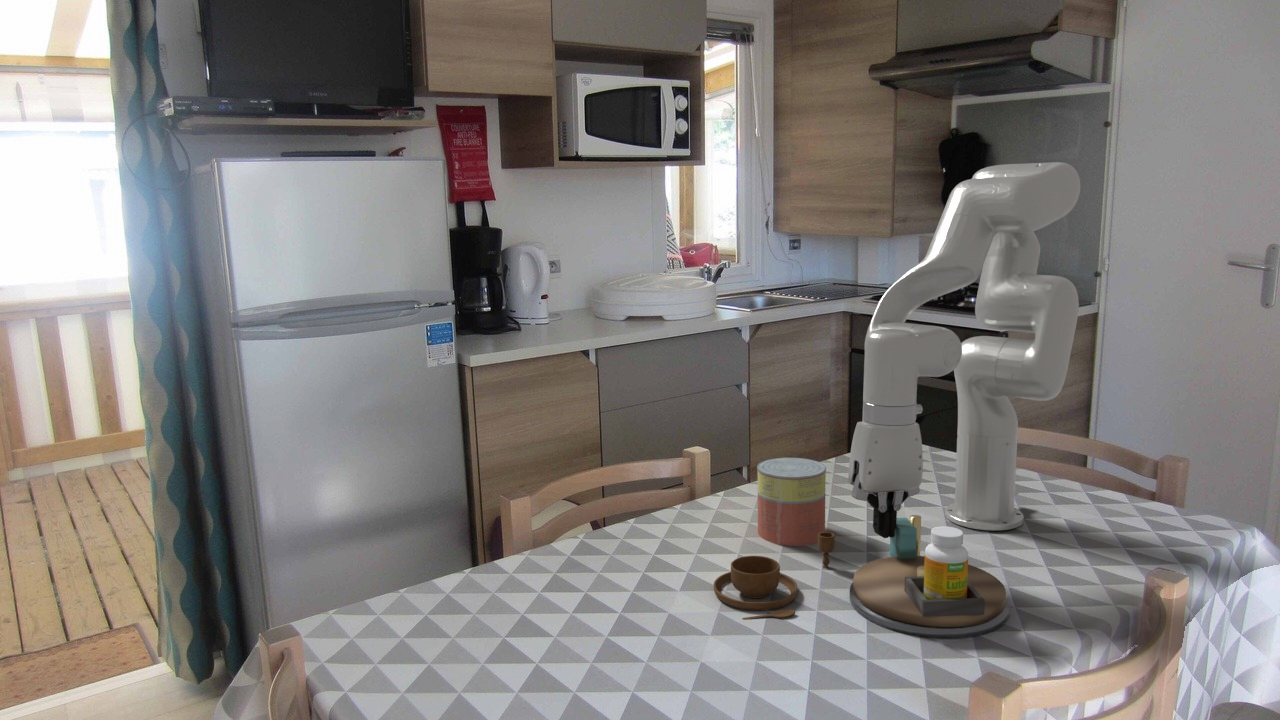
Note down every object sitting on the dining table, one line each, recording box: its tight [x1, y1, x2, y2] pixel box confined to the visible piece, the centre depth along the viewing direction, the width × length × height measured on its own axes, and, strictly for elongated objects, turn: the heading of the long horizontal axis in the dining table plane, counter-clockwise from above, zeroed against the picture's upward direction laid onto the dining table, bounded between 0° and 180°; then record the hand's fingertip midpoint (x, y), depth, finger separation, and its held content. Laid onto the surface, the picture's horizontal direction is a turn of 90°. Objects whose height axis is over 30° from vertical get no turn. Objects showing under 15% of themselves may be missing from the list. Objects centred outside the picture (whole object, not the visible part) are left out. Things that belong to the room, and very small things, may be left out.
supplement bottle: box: [924, 525, 969, 600], centre depth 119 cm, size 5×5×10 cm
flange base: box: [849, 514, 1010, 639], centre depth 125 cm, size 21×21×8 cm
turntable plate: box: [852, 517, 1007, 627], centre depth 127 cm, size 24×20×6 cm
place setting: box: [713, 531, 835, 621], centre depth 131 cm, size 18×20×6 cm
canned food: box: [756, 456, 827, 547], centre depth 151 cm, size 11×11×12 cm
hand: (884, 534), depth 136 cm, fingers closed
